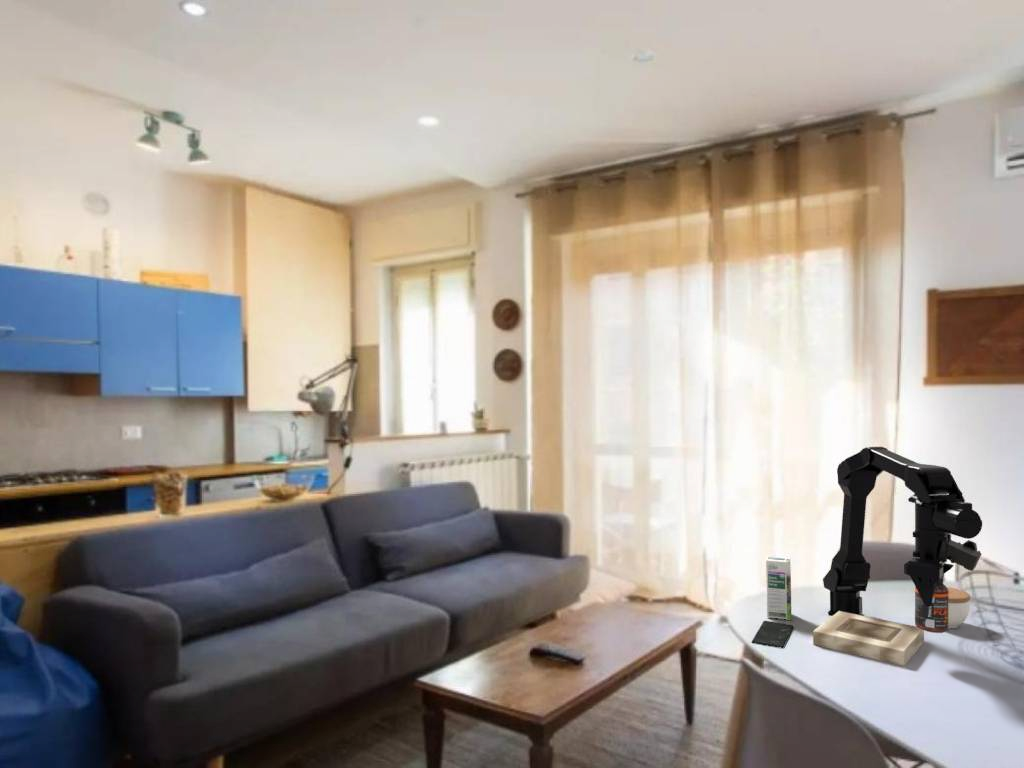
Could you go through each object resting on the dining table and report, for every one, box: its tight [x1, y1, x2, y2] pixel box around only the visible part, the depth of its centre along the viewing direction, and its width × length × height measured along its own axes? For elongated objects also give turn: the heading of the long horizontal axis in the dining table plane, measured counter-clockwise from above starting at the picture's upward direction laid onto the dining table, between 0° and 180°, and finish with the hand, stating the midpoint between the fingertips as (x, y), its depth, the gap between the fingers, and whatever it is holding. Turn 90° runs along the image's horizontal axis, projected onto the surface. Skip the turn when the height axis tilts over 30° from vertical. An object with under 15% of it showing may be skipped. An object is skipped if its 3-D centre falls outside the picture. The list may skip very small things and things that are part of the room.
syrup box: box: [765, 555, 792, 621], centre depth 171 cm, size 6×6×14 cm
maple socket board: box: [812, 611, 925, 667], centre depth 152 cm, size 18×18×3 cm
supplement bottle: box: [914, 577, 949, 634], centre depth 141 cm, size 6×6×11 cm
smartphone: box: [751, 620, 794, 649], centre depth 158 cm, size 7×1×15 cm
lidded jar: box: [944, 584, 971, 629], centre depth 164 cm, size 11×11×9 cm
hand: (931, 602), depth 141 cm, fingers closed on supplement bottle, 6 cm apart
